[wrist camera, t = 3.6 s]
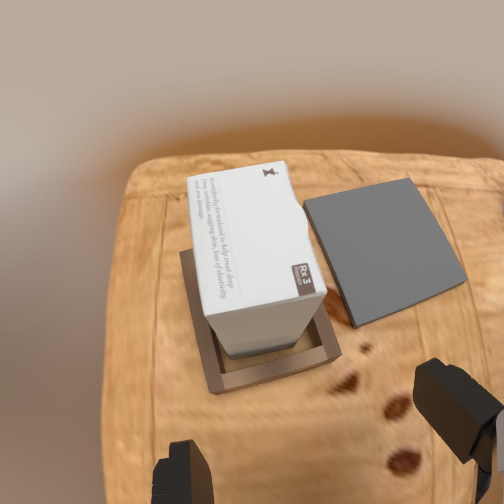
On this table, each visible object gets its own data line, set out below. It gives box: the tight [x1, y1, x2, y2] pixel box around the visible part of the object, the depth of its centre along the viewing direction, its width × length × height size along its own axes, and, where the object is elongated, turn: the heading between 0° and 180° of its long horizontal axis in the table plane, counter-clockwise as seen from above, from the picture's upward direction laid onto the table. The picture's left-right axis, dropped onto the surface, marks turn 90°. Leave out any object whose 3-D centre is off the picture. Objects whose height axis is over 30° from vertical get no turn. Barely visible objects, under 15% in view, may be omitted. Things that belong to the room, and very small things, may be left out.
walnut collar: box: [179, 248, 342, 395], centre depth 27 cm, size 10×12×4 cm
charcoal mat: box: [303, 178, 468, 328], centre depth 30 cm, size 14×14×1 cm
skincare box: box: [187, 161, 327, 360], centre depth 22 cm, size 8×6×15 cm
